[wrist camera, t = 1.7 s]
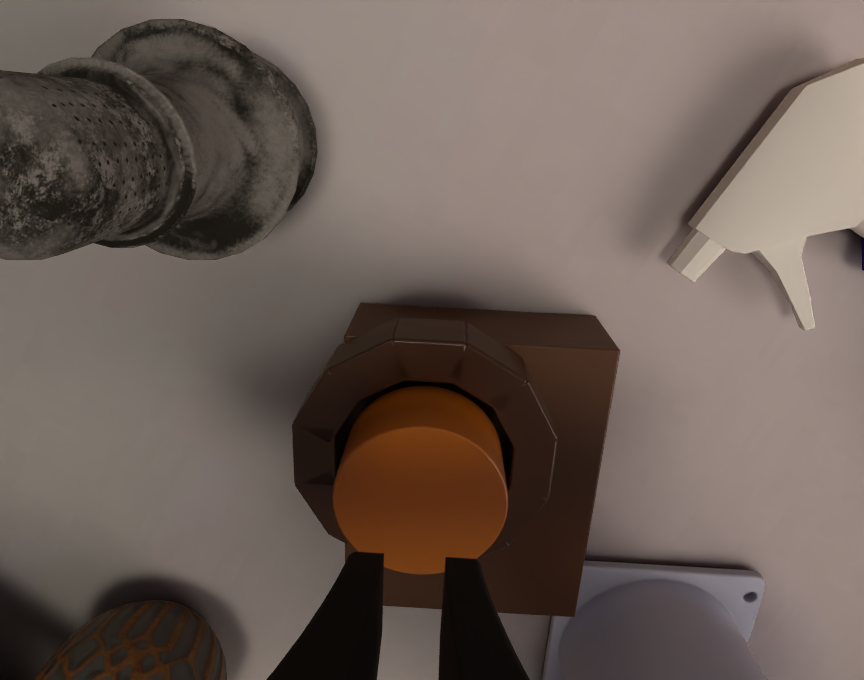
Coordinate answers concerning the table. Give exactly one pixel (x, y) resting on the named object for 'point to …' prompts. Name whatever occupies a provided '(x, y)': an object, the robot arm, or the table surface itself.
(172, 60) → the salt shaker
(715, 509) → the table surface
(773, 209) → the spray bottle
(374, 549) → the orange button
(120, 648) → the vase
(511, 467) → the brown button base
